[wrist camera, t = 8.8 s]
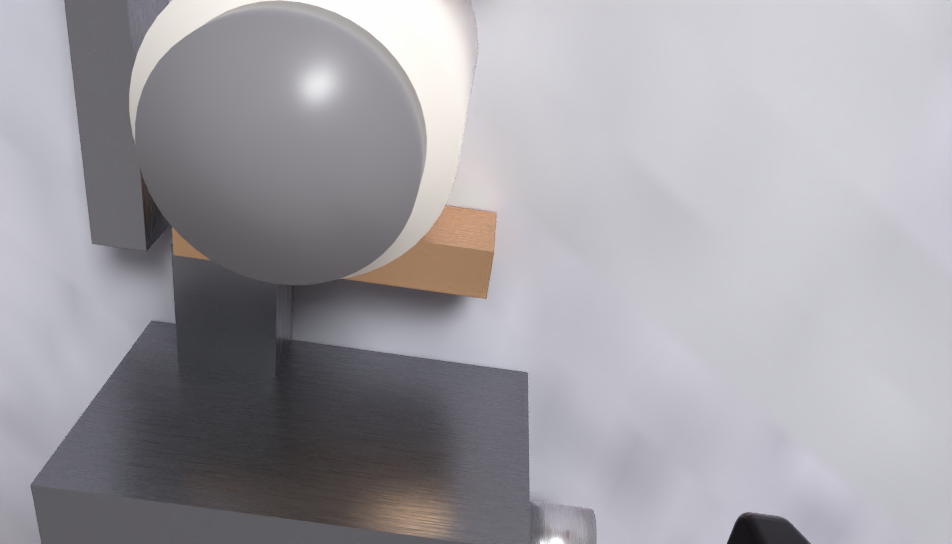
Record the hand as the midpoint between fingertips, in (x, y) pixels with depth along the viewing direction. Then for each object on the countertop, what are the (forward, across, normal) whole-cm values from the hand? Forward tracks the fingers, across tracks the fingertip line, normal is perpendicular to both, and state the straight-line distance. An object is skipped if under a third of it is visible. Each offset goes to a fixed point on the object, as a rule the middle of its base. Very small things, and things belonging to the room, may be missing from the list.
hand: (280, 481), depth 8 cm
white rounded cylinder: (+12, +1, -1) cm, 12 cm away
